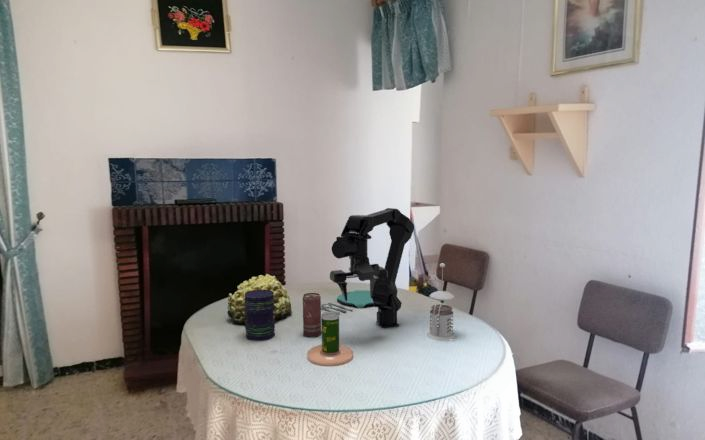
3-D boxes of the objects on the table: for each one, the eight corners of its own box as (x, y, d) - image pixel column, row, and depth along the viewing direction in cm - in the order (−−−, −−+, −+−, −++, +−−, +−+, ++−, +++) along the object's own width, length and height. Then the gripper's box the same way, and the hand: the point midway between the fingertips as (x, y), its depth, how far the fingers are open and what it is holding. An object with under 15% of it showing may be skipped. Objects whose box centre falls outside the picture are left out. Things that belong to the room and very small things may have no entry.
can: (319, 338, 166) (318, 297, 165) (301, 336, 168) (300, 296, 166) (323, 331, 172) (323, 292, 170) (306, 330, 174) (305, 291, 172)
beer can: (334, 347, 155) (334, 310, 153) (342, 353, 150) (342, 315, 149) (319, 350, 153) (318, 312, 151) (326, 356, 148) (325, 317, 146)
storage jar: (261, 343, 162) (259, 299, 160) (239, 337, 167) (237, 294, 165) (281, 334, 170) (280, 291, 169) (259, 329, 176) (258, 287, 174)
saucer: (344, 345, 160) (344, 341, 160) (359, 361, 147) (359, 357, 147) (302, 351, 156) (302, 347, 155) (314, 369, 142) (314, 364, 142)
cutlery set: (394, 301, 208) (394, 296, 208) (340, 318, 188) (340, 312, 188) (362, 292, 223) (362, 287, 223) (308, 307, 203) (308, 302, 203)
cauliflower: (296, 323, 181) (295, 281, 179) (227, 329, 176) (226, 286, 173) (287, 304, 205) (286, 266, 203) (227, 308, 200) (226, 270, 197)
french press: (458, 332, 171) (460, 261, 168) (450, 344, 160) (452, 268, 157) (431, 328, 175) (432, 259, 172) (421, 339, 165) (422, 265, 161)
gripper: (339, 260, 153) (340, 309, 155) (394, 256, 159) (394, 303, 161) (329, 253, 163) (329, 300, 165) (381, 250, 170) (381, 294, 172)
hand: (358, 299), depth 166 cm, fingers open, 9 cm apart
